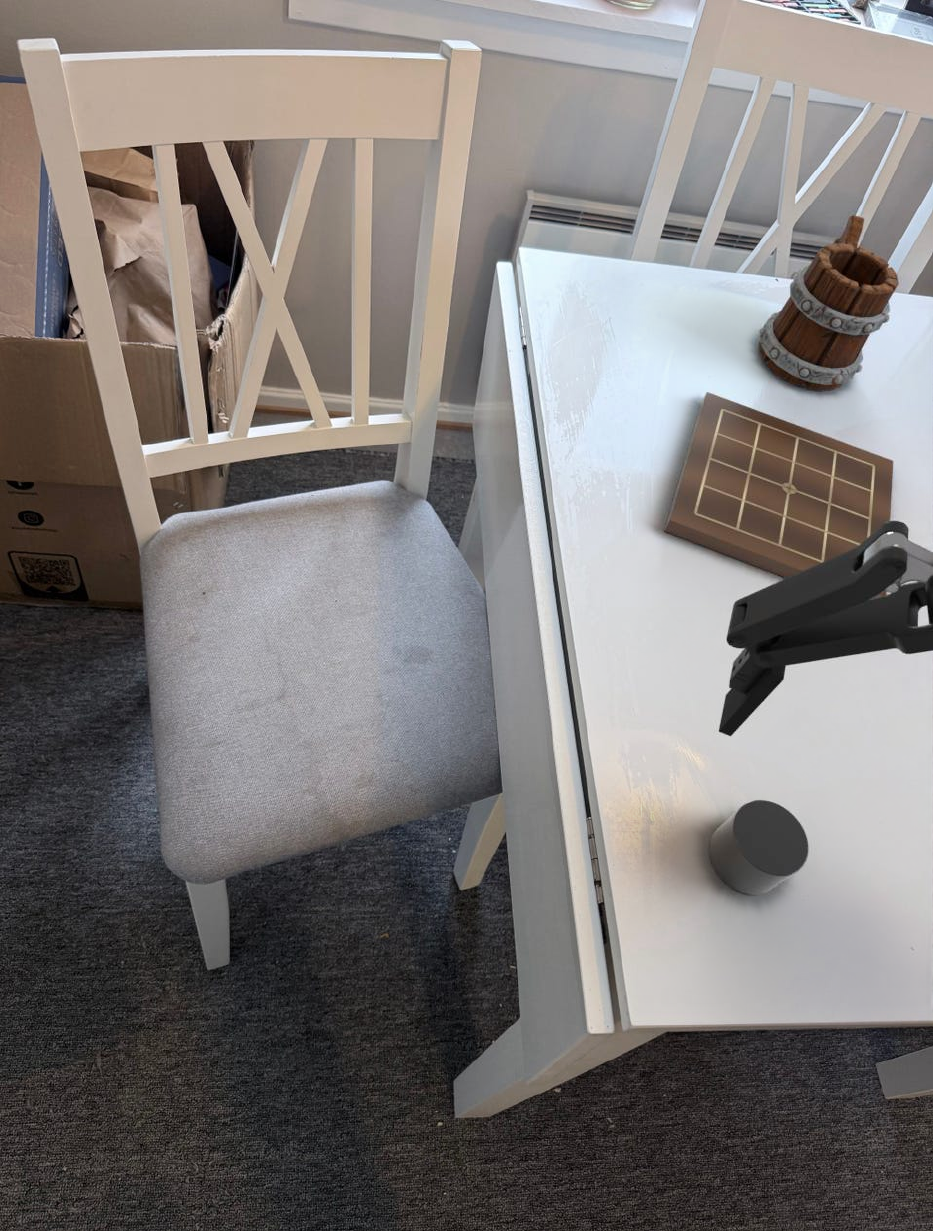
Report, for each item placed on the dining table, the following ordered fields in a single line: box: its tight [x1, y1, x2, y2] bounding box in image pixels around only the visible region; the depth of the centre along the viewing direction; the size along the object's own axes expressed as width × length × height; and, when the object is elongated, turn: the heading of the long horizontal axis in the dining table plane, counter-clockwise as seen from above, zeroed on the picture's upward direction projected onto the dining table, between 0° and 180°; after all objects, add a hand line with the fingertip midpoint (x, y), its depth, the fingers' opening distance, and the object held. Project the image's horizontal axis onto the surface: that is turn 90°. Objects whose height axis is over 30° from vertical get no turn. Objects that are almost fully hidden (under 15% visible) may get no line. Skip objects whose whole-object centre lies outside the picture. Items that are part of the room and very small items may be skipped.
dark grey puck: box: [708, 799, 809, 896], centre depth 57 cm, size 5×5×4 cm
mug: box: [758, 214, 900, 392], centre depth 91 cm, size 12×14×15 cm
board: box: [664, 391, 894, 598], centre depth 80 cm, size 20×20×2 cm
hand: (837, 760), depth 49 cm, fingers open, 13 cm apart
